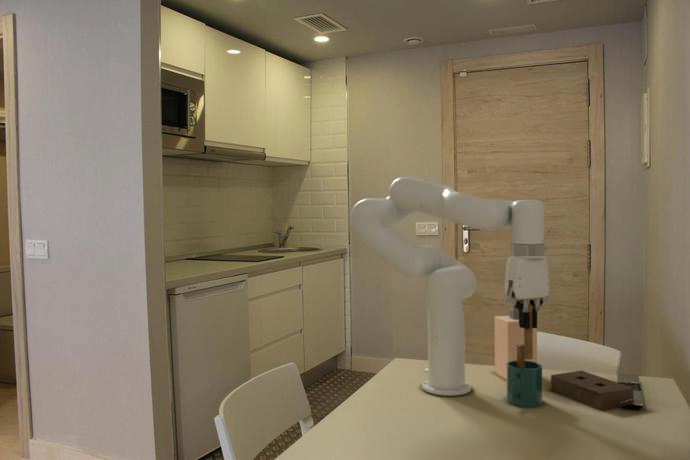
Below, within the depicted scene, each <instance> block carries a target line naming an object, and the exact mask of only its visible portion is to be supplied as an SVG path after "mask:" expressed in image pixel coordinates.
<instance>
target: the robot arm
mask: <svg viewBox="0 0 690 460" xmlns="http://www.w3.org/2000/svg"><path fill="white" fill-rule="evenodd" d="M416 213H420V214H424V215H428V216H432V217H436V218H439V219H441V220H444V221H448V222H451V223H455V224H457V225H461V226H464V227H469V228H472V229H475V230H481V231H486V232H491V231H502V230H509V229H511V231H510V232H511V233H510V234H511V235H510V236H511V240H510V241H511V244H510V245H511V246H510V247H511V256H508V258H507V263H506V267H505V277H504V295H505V297H506V301H505V302H506V303H507V304H508V305H512V306H513V305H514V306H515V307H516V309H517V311H519V327H521V328H525V329H530V312H527V311H528V304H530V305H532V328H537V329H538V312H539V311H540V309H541V306H542V305H543V304H544V303H546V302H548V301H550V297H549V294H550V273H549V266H548V260H547V257H546V256H545V252H546V251H547V250H548V247H547V245H545V204H544V202H543V201H542V200H540V199H517V200H505V199H495V198H494V199H493V198H485V197H479V196H476V195H471V194H467V193H463V192H459V191H457V190H454V188H453V187H451V186H449V185H445V184H442V183H436V182H433V181H427V180H426V179H423V178H421V177H413V176H401V177H398V178H396V179H394V180H393V181H392V182H391V184H390V186H389V188H388V196H387V197H385V198H384V197H383V198H381V197H380V198H379V197H377V198H376V197H374V198H373V197H370V198H364V199H361V200H359V201H358V202H356V203H355V204H354V205H353V207H352V209H351V211H350V216H349V220H350V227H351V230H352V232H353V235H354V237H355V239H356V240H357V241H358V242H359V244H360V245H361V246H363V247H364V248H365V249H366V250H367V251H368V252H370V253H371V254H373V255H375V256H376V257H377V258H379V259H380V260H381V261H382V262H384V263H385V264H386V265H387V266H389V267H391V268H392V269H393V270H394V271H396V272H397V273H399V274H400V275H401V276H403V278H404V279H407V280H409V281H413V282H417V281H423V280H425V283H424V299H425V303H426V315H427V367H426V368H425V369H424V373H425V374H427V379H425V380H424V381H422V383H421V388H422V390H423V391H425V392H427V393H428V394H429V393H430V394H432V395H437V396H444V397H445V396H446V397H448V396H449V397H452V396H453V397H455V396H462V395H465V394H468V393H470V392H471V391H472V385H471V383H470V382H468V381H466V325H465V324H466V323H465V322H466V321H465V313H464V307H463V303H462V302H463V301H464V300H467V299H468V298H470V297H472V295H473V294H474V293H475V291H476V289H477V278H476V276H475V274H474V273H473V271H472V269H470V268H469V267H467V265H465V264H463V262H460V261H459V259H456V258H455V257H454V256H452V255H450V254H449V253H447V252H446V251H444V250H443V249H441V248H439V247H438V246H436V245H432V244H426V243H425V244H415V243H413V242H411V241H409V240H408V239H406V238H404V237H403V236H402V235H401V234H399V233H398V232H396V231H394V230H393V229H390V228H391V227H394V226H396V225H398V224H400V223H402V222H403V221H405V220H407V219H408V218H410V217H411V216H413V215H414V214H416ZM515 298H516V300H515ZM527 299H528V300H527Z"/></svg>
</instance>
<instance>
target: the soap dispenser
mask: <svg viewBox="0 0 690 460" xmlns="http://www.w3.org/2000/svg"><path fill="white" fill-rule="evenodd" d="M515 300H516V297H515ZM527 300H528V299H527ZM518 344H523V345H524V328H521V327H519V311H517V309H516V307H515V306H514V305H512V307H511V308H509V309H508V315H495V316H494V374H496V375H498V376H499V377H501V378H503V379H505V380H506V381H507V363H508V362H510V361H516V360H517V345H518ZM525 361H532V362H536V363H538V327H537V328H533V359H525Z"/></svg>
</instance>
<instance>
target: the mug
mask: <svg viewBox="0 0 690 460" xmlns="http://www.w3.org/2000/svg"><path fill="white" fill-rule="evenodd" d="M506 402H507V403H509V404H511V405H513V406H516V407H521V408H535V407H539V406H541V405H542V404H543V365H542V364H541V363H539V362H537V363H536V362H532V361H525V369H522V368H517V360H516V361H510V362H508V363H507V380H506Z"/></svg>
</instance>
